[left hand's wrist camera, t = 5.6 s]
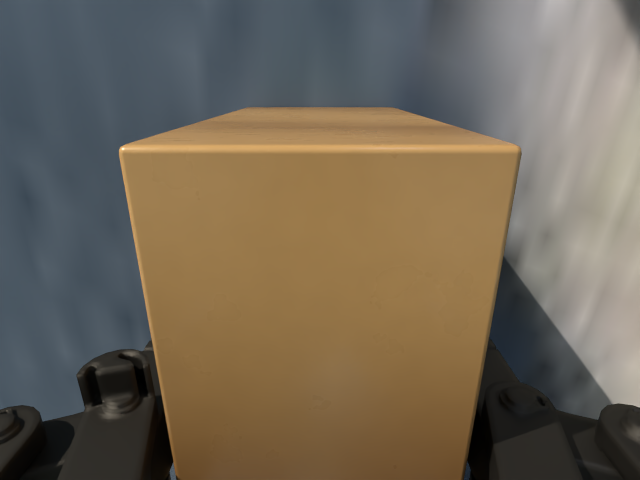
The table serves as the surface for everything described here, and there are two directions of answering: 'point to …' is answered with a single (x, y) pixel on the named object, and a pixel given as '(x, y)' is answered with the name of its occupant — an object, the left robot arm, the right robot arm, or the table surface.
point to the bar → (320, 288)
